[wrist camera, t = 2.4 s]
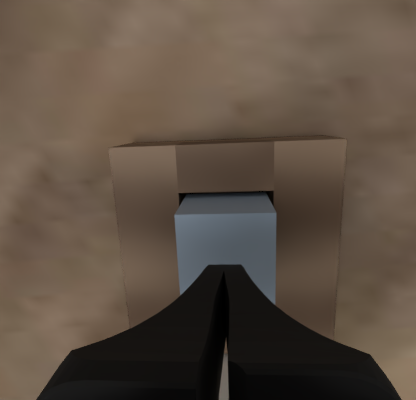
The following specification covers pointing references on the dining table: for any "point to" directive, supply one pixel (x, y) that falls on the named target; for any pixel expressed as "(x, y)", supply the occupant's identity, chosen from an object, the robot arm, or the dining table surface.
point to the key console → (233, 182)
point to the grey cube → (227, 236)
